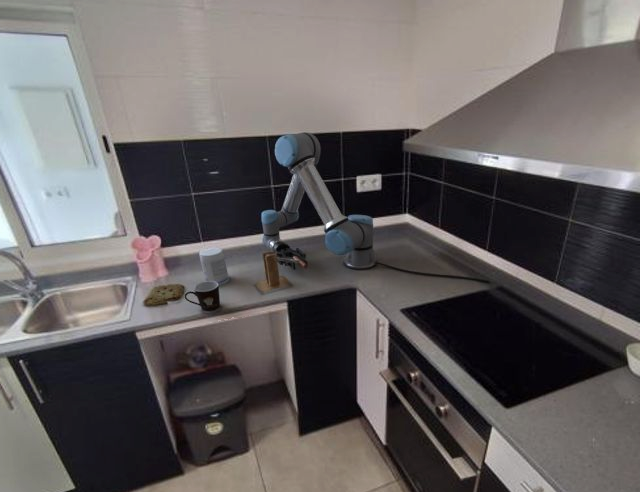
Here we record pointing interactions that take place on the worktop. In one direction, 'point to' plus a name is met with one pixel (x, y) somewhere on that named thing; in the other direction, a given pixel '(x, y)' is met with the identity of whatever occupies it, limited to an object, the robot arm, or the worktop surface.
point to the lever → (296, 260)
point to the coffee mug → (207, 295)
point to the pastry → (164, 294)
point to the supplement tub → (214, 265)
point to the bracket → (271, 273)
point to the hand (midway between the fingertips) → (300, 265)
